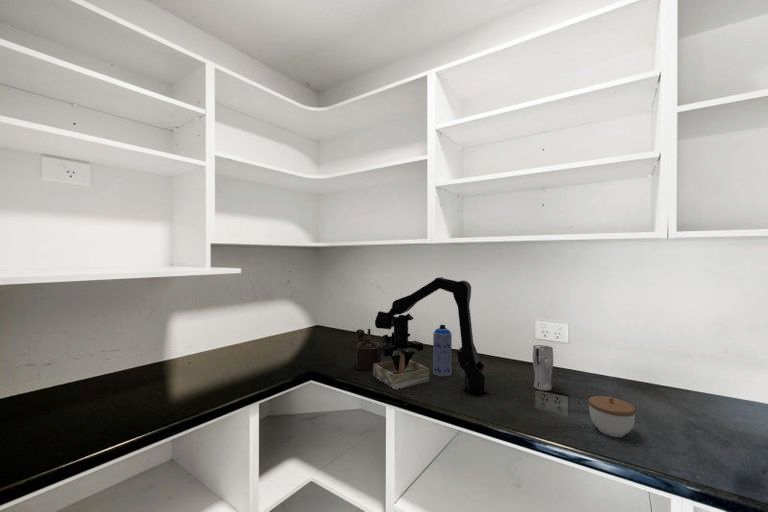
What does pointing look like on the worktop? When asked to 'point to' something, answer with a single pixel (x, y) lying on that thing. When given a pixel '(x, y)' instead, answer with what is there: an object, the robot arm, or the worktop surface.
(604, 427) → the lidded jar
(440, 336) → the aerosol can
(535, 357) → the beer glass
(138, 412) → the worktop surface
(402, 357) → the peg
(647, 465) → the worktop surface
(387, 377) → the tray
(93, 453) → the worktop surface
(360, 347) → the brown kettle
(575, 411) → the worktop surface
